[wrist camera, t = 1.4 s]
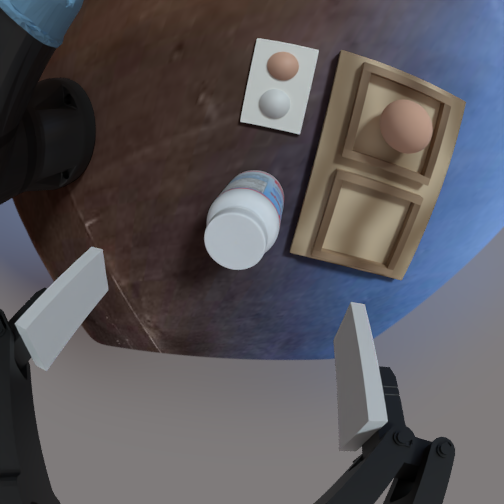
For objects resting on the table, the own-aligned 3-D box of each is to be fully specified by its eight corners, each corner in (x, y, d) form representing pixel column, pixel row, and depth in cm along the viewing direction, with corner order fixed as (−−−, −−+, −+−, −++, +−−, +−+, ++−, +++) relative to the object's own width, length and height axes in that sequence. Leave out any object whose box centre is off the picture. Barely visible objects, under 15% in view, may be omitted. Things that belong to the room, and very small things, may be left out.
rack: (290, 247, 33) (289, 257, 32) (339, 51, 23) (343, 48, 21) (399, 274, 33) (403, 285, 31) (460, 101, 22) (470, 102, 20)
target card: (240, 121, 28) (239, 121, 27) (257, 38, 23) (256, 37, 23) (299, 134, 27) (299, 134, 27) (318, 50, 23) (319, 49, 22)
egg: (368, 139, 25) (381, 147, 21) (380, 92, 23) (396, 90, 19) (412, 155, 25) (432, 166, 21) (425, 110, 23) (447, 113, 18)
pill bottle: (281, 225, 32) (272, 283, 23) (226, 218, 33) (195, 273, 23) (287, 171, 29) (280, 209, 20) (228, 165, 30) (193, 200, 20)
